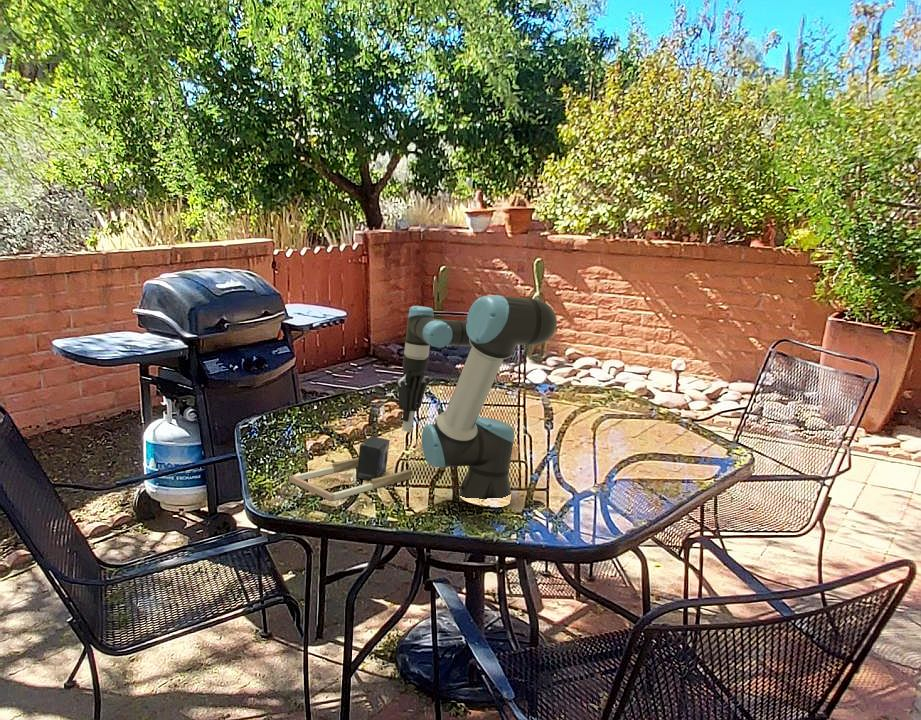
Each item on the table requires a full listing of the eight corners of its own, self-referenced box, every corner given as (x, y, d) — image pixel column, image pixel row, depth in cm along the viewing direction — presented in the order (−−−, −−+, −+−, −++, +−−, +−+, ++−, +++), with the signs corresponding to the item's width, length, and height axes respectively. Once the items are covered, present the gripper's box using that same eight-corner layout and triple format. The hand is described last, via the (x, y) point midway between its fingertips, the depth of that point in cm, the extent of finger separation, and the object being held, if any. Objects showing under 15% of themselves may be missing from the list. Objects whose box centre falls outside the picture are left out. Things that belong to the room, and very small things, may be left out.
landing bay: (372, 489, 211) (373, 484, 210) (330, 500, 198) (331, 495, 198) (330, 471, 221) (331, 466, 221) (289, 481, 209) (289, 476, 208)
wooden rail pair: (411, 478, 223) (411, 470, 223) (373, 489, 211) (374, 480, 210) (370, 462, 234) (370, 454, 233) (331, 471, 221) (332, 463, 221)
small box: (376, 482, 217) (380, 448, 215) (355, 478, 218) (358, 444, 216) (387, 472, 227) (390, 439, 225) (366, 468, 228) (370, 435, 226)
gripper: (420, 353, 235) (412, 424, 239) (392, 355, 224) (383, 430, 229) (438, 358, 230) (429, 431, 234) (410, 360, 220) (401, 437, 224)
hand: (406, 430), depth 232 cm, fingers closed
